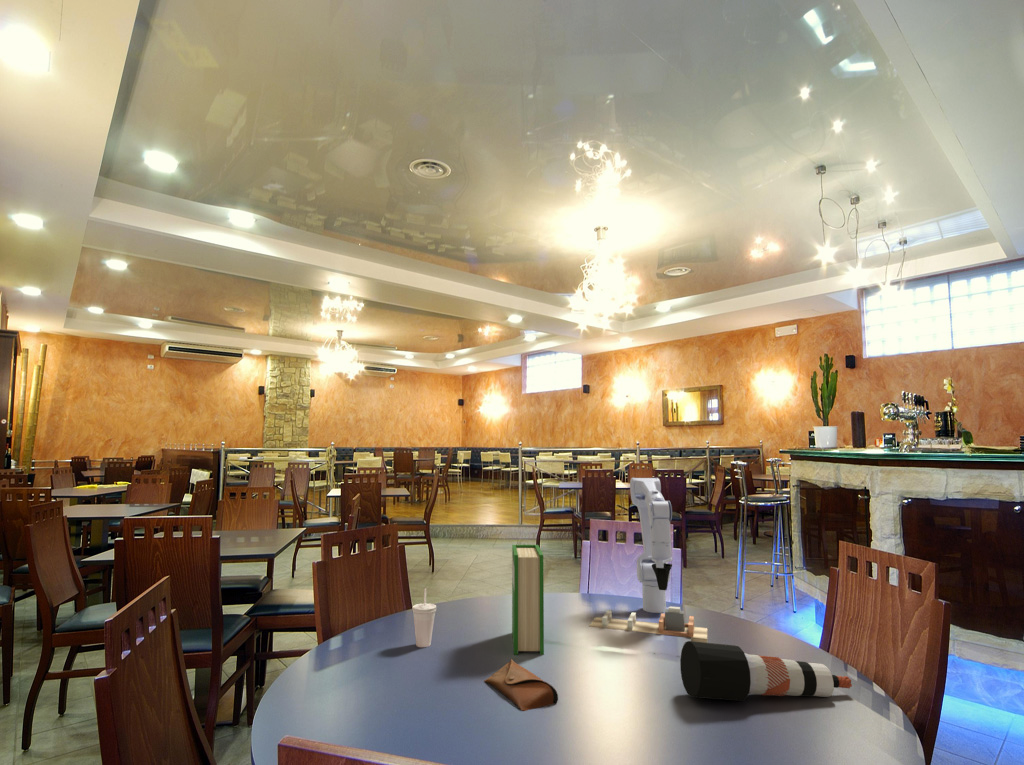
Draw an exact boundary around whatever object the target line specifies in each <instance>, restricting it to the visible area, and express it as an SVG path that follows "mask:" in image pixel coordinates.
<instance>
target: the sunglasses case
mask: <svg viewBox="0 0 1024 765" xmlns="http://www.w3.org/2000/svg"><path fill="white" fill-rule="evenodd" d="M483 682H484V683H486V684H487V685H489V686H491V687H493V688H494V689H495V690H496V691H498V692H499V693H501V694H502V695H503V696H504V697H505V698H507V699H508V700H509V701H510V702H512V703H513V704H514V705H515V706H516V707H517V708H518V709H519V710H520V711H523V712H527V711H530V710H533V709H538V708H541V707H542V708H543V707H545V706H546V707H547V706H549V705H550V706H551V705H554V704H557V703H558V701H559V694H558V692H557V690H556V688H555V687H554V686H553V685H552V684H550V683H548V682H546V681H544V680H543V679H541V678H540V677H538V676H537V675H536V674H534V673H533V672H531V671H530V670H528V669H527V668H525V667H523V666H521V665H520V664H518V663H516V662H515V661H514V660H513V659H512V658H510V661H509V662H507V663H506V664H504V665H503V666H502V667H500V668H499V669H498V670H497V671H495V672H494V673H492V674H491V675H490V676H489V677H488V678H486V679H484V680H483Z"/></svg>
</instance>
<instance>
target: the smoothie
mask: <svg viewBox="0 0 1024 765" xmlns="http://www.w3.org/2000/svg"><path fill="white" fill-rule="evenodd" d="M411 610H412V612H413V621H414V622H413V623H414V633H415V635H414V636H415V644H416V647H418V648H428V647H430V646H431V645H432V644H431V643H432V637H433V630H434V622H435V616H436V615H435V614H436V611H437V605H436V604H434V603H428V602H427V588H424V591H423V603H418V604H417V603H416V604H414V605H413V606H412V609H411Z"/></svg>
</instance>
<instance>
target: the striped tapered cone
mask: <svg viewBox="0 0 1024 765" xmlns="http://www.w3.org/2000/svg"><path fill="white" fill-rule="evenodd" d="M679 661H680V668H679V669H680V674H681V680H682V685H683V687H684V689H685V692H686V693H687V695H688V696H690V698H700V699H711V700H713V699H715V700H723V701H738V702H739V701H740V702H743V701H745V700H746V699H747V698H748V696H749V695H761V696H763V697H764V696H776V697H778V696H779V697H783V696H794V697H799V696H802V697H803V696H804V697H821V698H823V697H824V698H829V697H831V696H832V695H833V693H834V689H835V688H837V689H838V688H841V689H851V688H852V686H853V685H852V684H853V683H852V679H851V678H850V677H849V676H847V675H844V676H843V675H835V674H832V672H831V670H830V669H829V668H828V667H827V666H826V665H825V664H823V663H815V662H814V663H813V662H808V661H799V660H793V659H785V658H784V659H783V658H780V657H779V656H767V655H757V654H748V653H746V652H744V651H743V649H742V648H741V647H740V646H739V645H735V644H726V643H725V644H723V643H713V642H707V643H704V642H695V641H691V640H688V641H685V642H684V643H683V646H682V649H681V653H680V660H679Z"/></svg>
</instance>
